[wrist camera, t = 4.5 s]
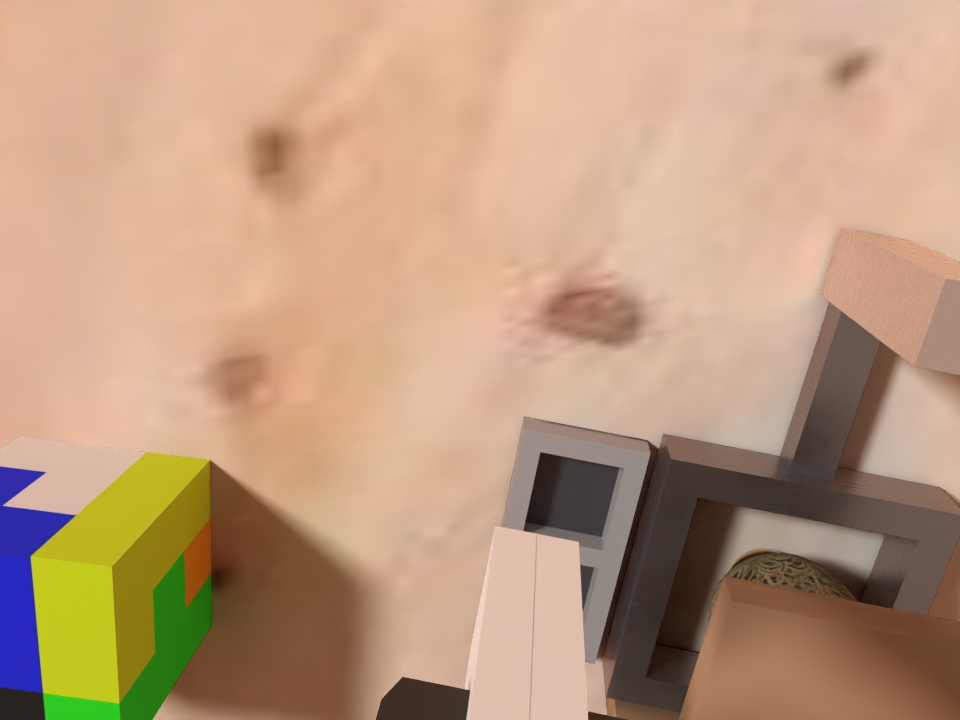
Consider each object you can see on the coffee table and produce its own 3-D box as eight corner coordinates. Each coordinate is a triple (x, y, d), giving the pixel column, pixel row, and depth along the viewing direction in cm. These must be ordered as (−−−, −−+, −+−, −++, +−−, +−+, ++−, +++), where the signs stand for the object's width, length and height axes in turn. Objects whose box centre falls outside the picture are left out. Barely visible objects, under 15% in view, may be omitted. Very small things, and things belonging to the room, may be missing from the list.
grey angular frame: (851, 710, 43) (935, 884, 34) (602, 660, 43) (616, 819, 34) (1028, 262, 35) (1202, 326, 26) (724, 206, 36) (786, 248, 26)
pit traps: (593, 645, 44) (594, 663, 42) (481, 622, 44) (479, 640, 42) (647, 440, 40) (650, 453, 38) (524, 416, 40) (523, 428, 38)
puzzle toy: (21, 436, 43) (-131, 535, 33) (210, 459, 42) (111, 566, 33) (36, 601, 46) (-99, 734, 36) (212, 624, 45) (123, 765, 36)
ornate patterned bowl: (685, 638, 43) (714, 756, 35) (683, 512, 41) (713, 609, 33) (834, 635, 42) (896, 754, 35) (840, 506, 40) (908, 604, 32)
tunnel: (826, 733, 44) (938, 997, 31) (605, 689, 44) (626, 932, 32) (923, 483, 39) (1103, 674, 26) (674, 435, 40) (732, 601, 27)
